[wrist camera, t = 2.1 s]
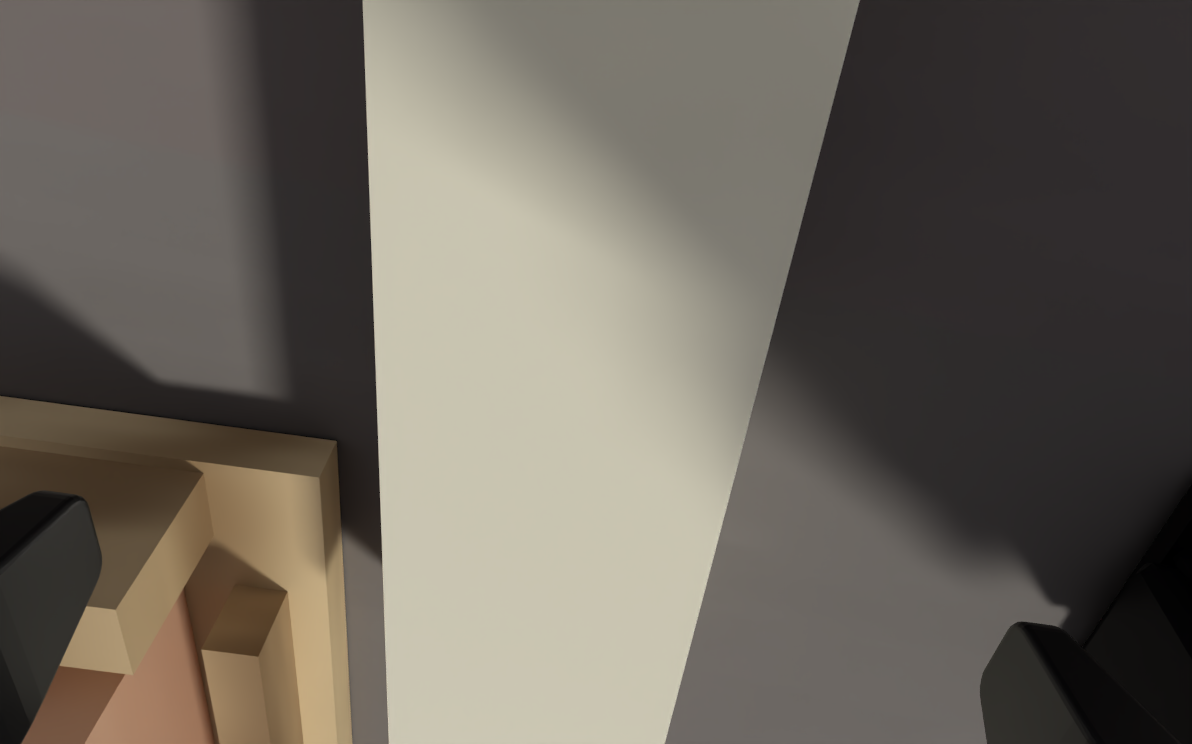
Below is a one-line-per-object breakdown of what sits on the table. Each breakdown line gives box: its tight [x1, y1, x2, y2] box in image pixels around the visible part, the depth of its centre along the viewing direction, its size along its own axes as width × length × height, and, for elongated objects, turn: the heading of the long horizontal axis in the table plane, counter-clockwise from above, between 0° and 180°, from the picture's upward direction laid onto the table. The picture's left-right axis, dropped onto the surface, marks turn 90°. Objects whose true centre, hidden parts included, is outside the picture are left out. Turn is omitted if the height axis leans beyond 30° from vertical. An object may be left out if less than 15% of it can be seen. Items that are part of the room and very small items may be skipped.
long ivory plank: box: [363, 0, 860, 744], centre depth 13 cm, size 4×16×4 cm, turn 174°
